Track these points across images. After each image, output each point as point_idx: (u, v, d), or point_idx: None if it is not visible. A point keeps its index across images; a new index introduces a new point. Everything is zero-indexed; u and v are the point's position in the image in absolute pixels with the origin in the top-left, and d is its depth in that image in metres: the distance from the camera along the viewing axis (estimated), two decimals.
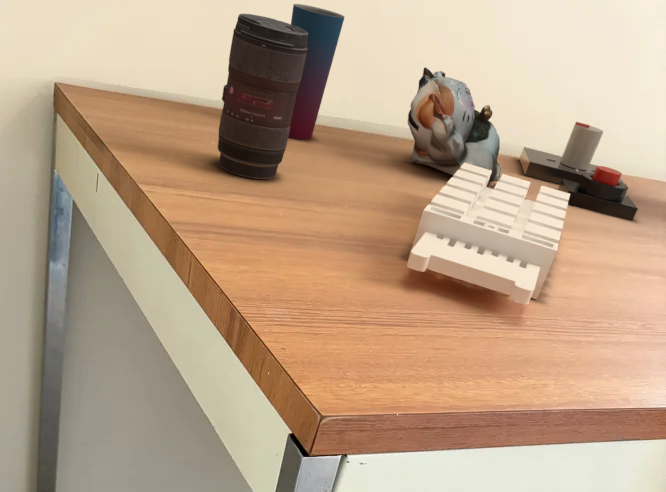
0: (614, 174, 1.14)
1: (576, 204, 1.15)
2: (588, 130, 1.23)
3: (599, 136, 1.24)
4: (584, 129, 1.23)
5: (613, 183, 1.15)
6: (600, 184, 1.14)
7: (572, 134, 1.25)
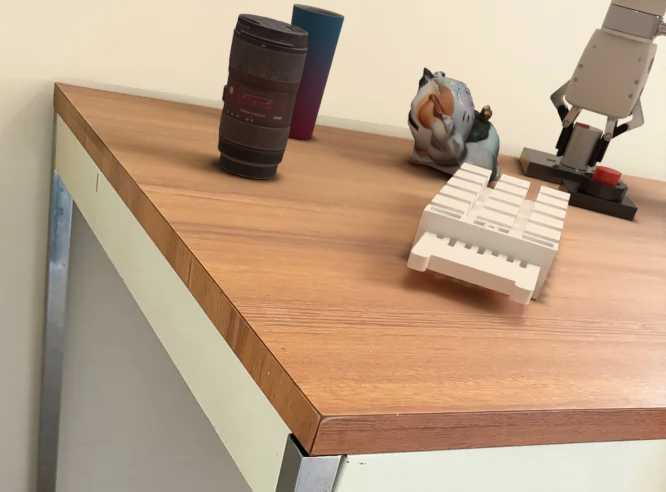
0: (614, 174, 1.14)
1: (576, 204, 1.15)
2: (588, 130, 1.23)
3: (599, 136, 1.24)
4: (584, 129, 1.23)
5: (613, 183, 1.15)
6: (600, 184, 1.14)
7: (572, 134, 1.25)
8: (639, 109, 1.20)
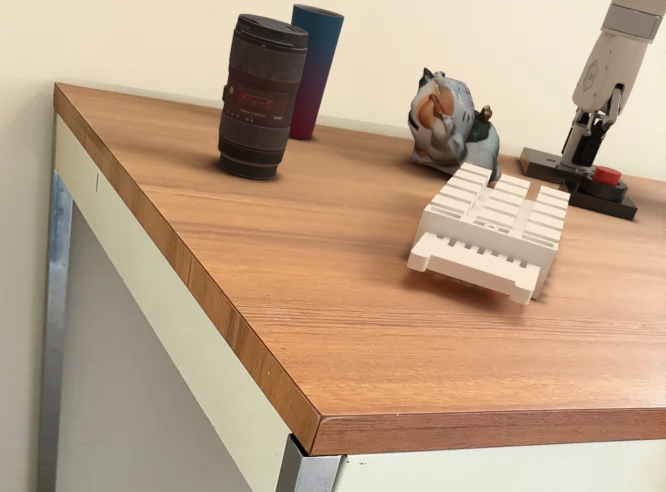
0: (614, 174, 1.14)
1: (576, 204, 1.15)
2: None
3: None
4: None
5: (613, 183, 1.15)
6: (600, 184, 1.14)
7: None
8: None
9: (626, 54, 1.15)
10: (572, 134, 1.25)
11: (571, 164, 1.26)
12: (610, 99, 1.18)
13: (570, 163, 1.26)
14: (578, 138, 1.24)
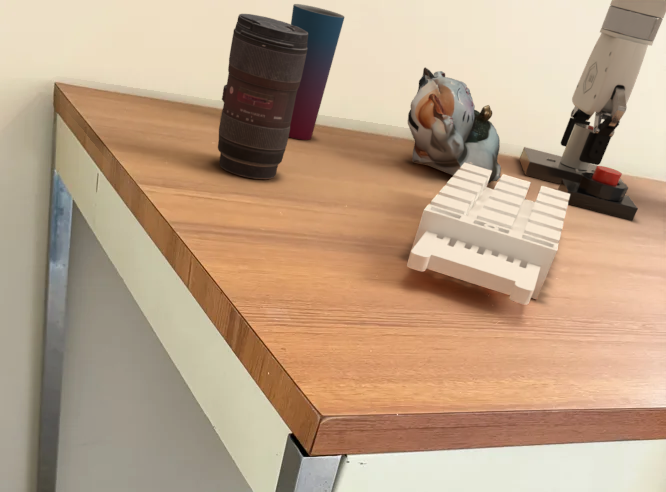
0: (614, 174, 1.14)
1: (576, 204, 1.15)
2: None
3: None
4: None
5: (613, 183, 1.15)
6: (600, 184, 1.14)
7: None
8: None
9: (626, 56, 1.15)
10: (572, 134, 1.25)
11: (571, 164, 1.26)
12: (615, 95, 1.17)
13: (570, 163, 1.26)
14: (578, 138, 1.24)
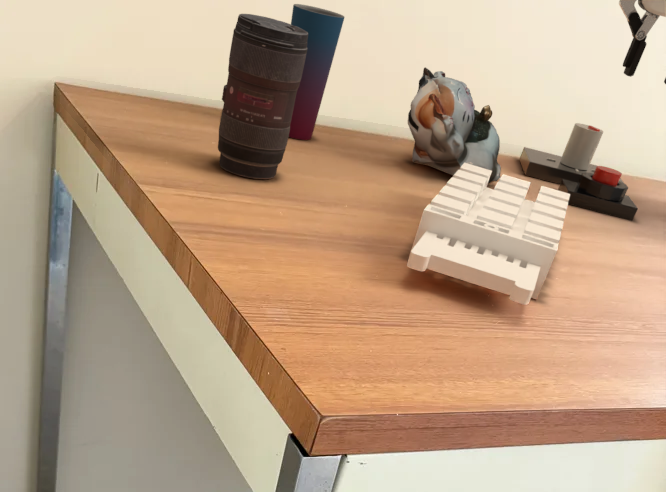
0: (614, 174, 1.14)
1: (576, 204, 1.15)
2: (601, 130, 1.25)
3: None
4: (602, 132, 1.25)
5: (613, 183, 1.15)
6: (600, 184, 1.14)
7: (596, 141, 1.24)
8: None
9: None
10: (572, 134, 1.25)
11: (571, 164, 1.26)
12: None
13: (570, 163, 1.26)
14: (578, 138, 1.24)
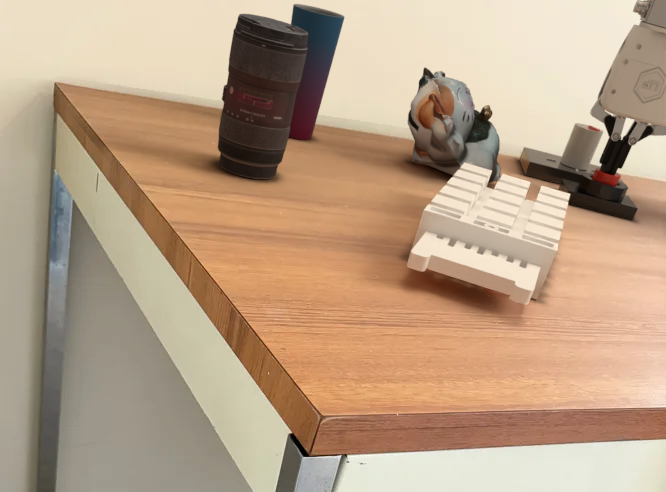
0: (613, 176, 1.14)
1: (576, 204, 1.15)
2: (601, 130, 1.25)
3: None
4: (602, 132, 1.25)
5: None
6: (600, 184, 1.14)
7: (596, 141, 1.24)
8: (600, 97, 1.11)
9: None
10: (572, 134, 1.25)
11: (571, 164, 1.26)
12: None
13: (570, 163, 1.26)
14: (578, 138, 1.24)
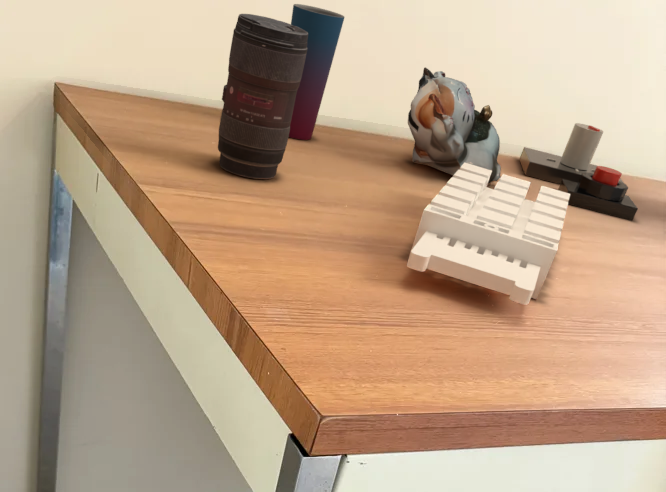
0: (614, 174, 1.14)
1: (576, 204, 1.15)
2: (601, 130, 1.25)
3: None
4: (602, 132, 1.25)
5: (613, 183, 1.15)
6: (600, 184, 1.14)
7: (596, 141, 1.24)
8: None
9: None
10: (572, 134, 1.25)
11: (571, 164, 1.26)
12: None
13: (570, 163, 1.26)
14: (578, 138, 1.24)
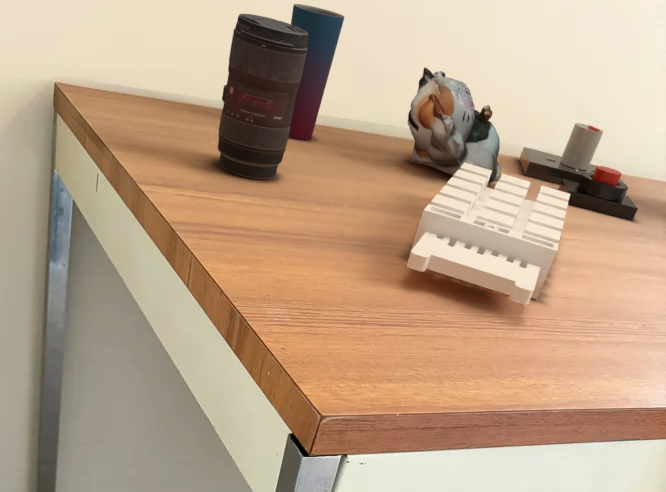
0: (614, 174, 1.14)
1: (576, 204, 1.15)
2: (601, 130, 1.25)
3: None
4: (602, 132, 1.25)
5: (613, 183, 1.15)
6: (600, 184, 1.14)
7: (596, 141, 1.24)
8: None
9: None
10: (572, 134, 1.25)
11: (571, 164, 1.26)
12: None
13: (570, 163, 1.26)
14: (578, 138, 1.24)
